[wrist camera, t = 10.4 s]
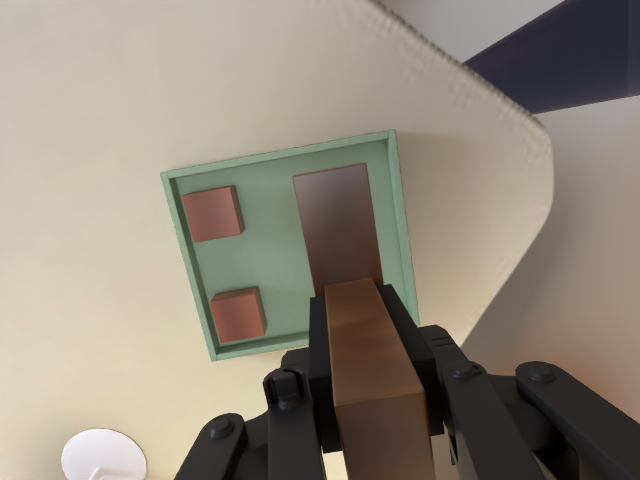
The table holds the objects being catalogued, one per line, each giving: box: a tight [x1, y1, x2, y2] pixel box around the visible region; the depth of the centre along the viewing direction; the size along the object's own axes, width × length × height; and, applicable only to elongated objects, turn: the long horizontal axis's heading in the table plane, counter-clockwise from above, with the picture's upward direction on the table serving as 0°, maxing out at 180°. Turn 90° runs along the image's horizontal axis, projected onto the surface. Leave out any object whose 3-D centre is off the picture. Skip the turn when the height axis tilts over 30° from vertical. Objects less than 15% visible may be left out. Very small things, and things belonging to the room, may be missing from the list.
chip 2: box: [210, 286, 267, 343], centre depth 33 cm, size 4×4×2 cm
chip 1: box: [182, 185, 245, 243], centre depth 31 cm, size 4×4×2 cm
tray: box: [160, 130, 420, 361], centre depth 32 cm, size 19×17×2 cm
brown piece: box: [292, 162, 436, 480], centre depth 15 cm, size 4×14×12 cm, turn 10°
